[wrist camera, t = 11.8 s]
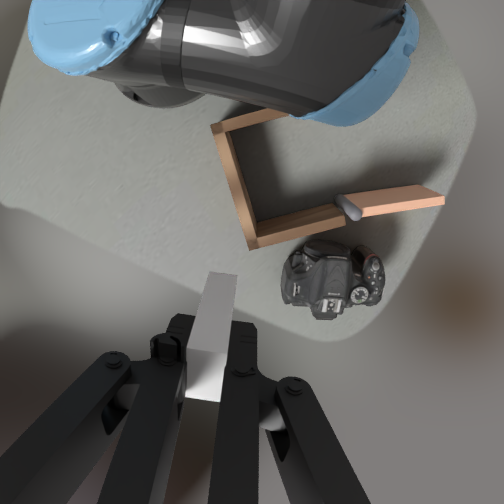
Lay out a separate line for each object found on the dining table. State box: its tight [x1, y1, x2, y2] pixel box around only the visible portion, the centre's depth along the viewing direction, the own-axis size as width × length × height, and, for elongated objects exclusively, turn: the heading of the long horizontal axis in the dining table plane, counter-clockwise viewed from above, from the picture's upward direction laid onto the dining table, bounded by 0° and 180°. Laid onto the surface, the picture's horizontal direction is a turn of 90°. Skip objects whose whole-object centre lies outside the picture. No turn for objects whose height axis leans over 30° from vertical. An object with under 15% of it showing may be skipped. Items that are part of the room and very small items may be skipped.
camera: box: [281, 240, 385, 320], centre depth 39 cm, size 13×10×10 cm
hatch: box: [334, 185, 444, 221], centre depth 36 cm, size 12×2×7 cm, turn 101°
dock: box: [210, 108, 346, 251], centre depth 36 cm, size 14×11×6 cm
